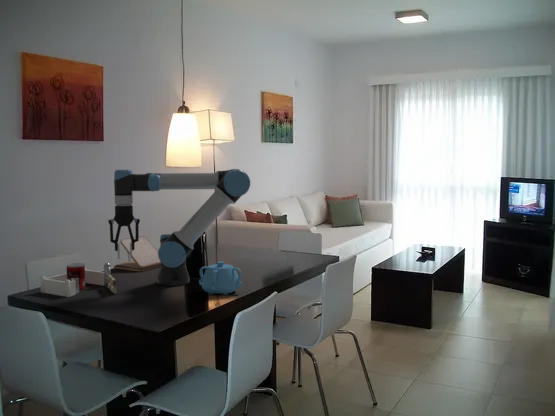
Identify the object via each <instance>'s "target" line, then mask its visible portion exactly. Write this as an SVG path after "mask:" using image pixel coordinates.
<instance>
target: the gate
mask: <svg viewBox="0 0 555 416" xmlns="http://www.w3.org/2000/svg"><path fill="white" fill-rule="evenodd" d="M106 287H107V288H108V289H109V290H110V291H111V293H112V294H113V295H114V294H116V295H117V293H118V292H117V279H116V278H114V276H112V275H110V274H107V286H106Z"/></svg>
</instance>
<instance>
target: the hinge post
mask: <svg viewBox="0 0 555 416" xmlns="http://www.w3.org/2000/svg"><path fill="white" fill-rule="evenodd" d="M103 272H104V287H107V274H110V275H111V273H112V271H111V264H110V262H105V263H104V264H103ZM111 276H112V275H111Z"/></svg>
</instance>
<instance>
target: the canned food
mask: <svg viewBox="0 0 555 416" xmlns="http://www.w3.org/2000/svg"><path fill="white" fill-rule="evenodd" d="M85 267H86V266H85V263H84V262H72V263H68V264H66V273H67V280H70V281H71V278H75V277H77V278H79V291H82V290H85V289H86V283H85Z"/></svg>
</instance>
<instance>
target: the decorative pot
mask: <svg viewBox="0 0 555 416" xmlns="http://www.w3.org/2000/svg"><path fill="white" fill-rule="evenodd" d="M203 270H205V272H204V274H203ZM237 272H238V274H237ZM242 274H243V273H242V270H241V269H240V268H239V267H234V266H233V265H232V264H228V263H227V264H226V263H225V262H224V260H223V261H222V260H221V261H216V264H211V265H208V266H207V265H204V266H202V267H200V269H199V276H200V279H199V280H198V284H199V285H200V286H201V288H202V289H203V290H204V292H205V293H207V294H208V295H215V294H221V295H222V296H228V295H229V294H230V293H233V292H235V291H236V290H237V289H239V288H240V289H241V288H242V287H243V282H242V281H241V278H242Z"/></svg>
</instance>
